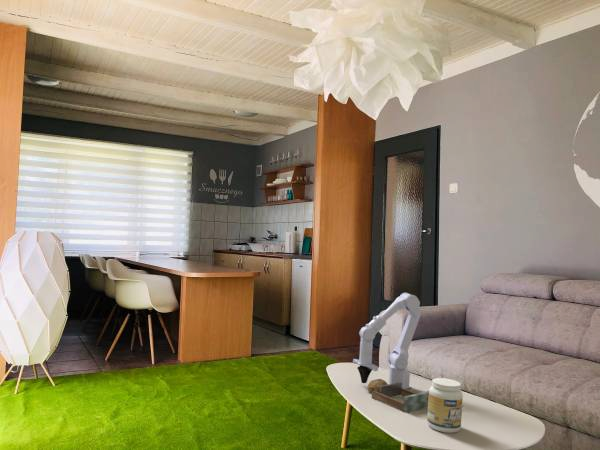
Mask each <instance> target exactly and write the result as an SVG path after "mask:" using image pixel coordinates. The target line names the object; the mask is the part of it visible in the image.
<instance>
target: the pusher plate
mask: <svg viewBox="0 0 600 450" xmlns="http://www.w3.org/2000/svg"><path fill="white" fill-rule="evenodd" d="M387 384H388V385H383V386H380V393H381V394H383V395H386V396H388V397H391V398H394V397H398V396H402V395H401V392H402V382H399V383H394V384H389V383H387Z"/></svg>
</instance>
